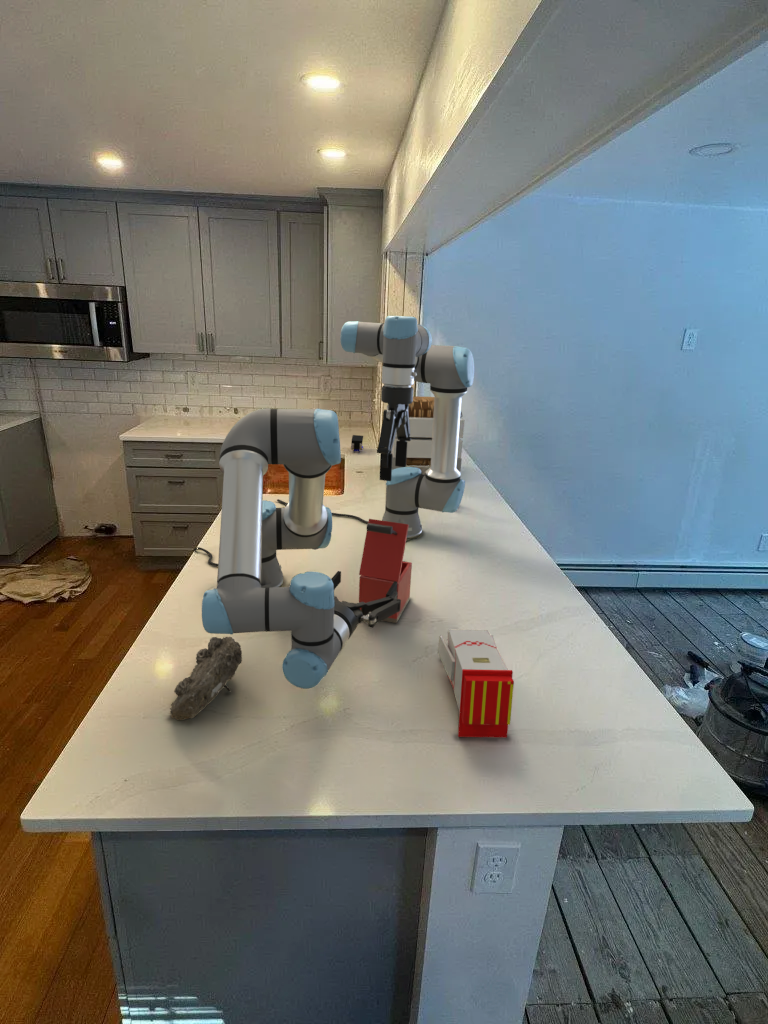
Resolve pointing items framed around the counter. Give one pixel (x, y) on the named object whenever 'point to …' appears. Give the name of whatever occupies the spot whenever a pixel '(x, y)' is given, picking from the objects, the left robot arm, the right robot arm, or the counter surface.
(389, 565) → the lid
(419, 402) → the white boxy piece
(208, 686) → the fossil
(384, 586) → the chest
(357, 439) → the figurine character
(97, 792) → the counter surface
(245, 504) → the left robot arm
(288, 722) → the counter surface
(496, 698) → the toy
